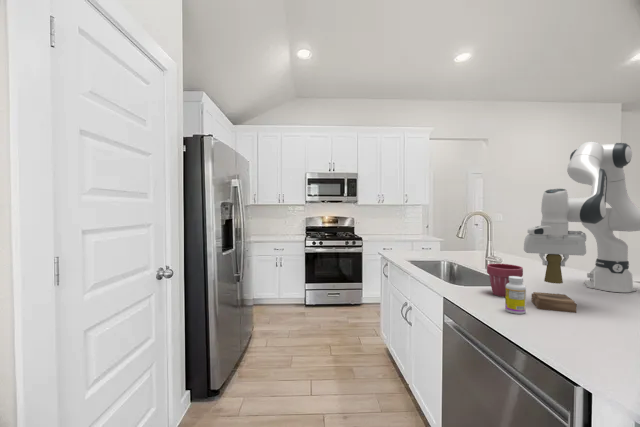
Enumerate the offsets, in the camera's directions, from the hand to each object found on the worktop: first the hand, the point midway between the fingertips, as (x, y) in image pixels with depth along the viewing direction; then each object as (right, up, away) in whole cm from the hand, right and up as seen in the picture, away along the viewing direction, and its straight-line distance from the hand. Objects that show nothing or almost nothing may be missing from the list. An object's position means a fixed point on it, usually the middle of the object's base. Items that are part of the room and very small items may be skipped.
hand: (553, 265), depth 135 cm
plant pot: (-9, -16, +19) cm, 26 cm away
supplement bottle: (-19, -16, -7) cm, 26 cm away
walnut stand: (0, -16, 0) cm, 16 cm away
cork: (0, -7, 0) cm, 7 cm away
